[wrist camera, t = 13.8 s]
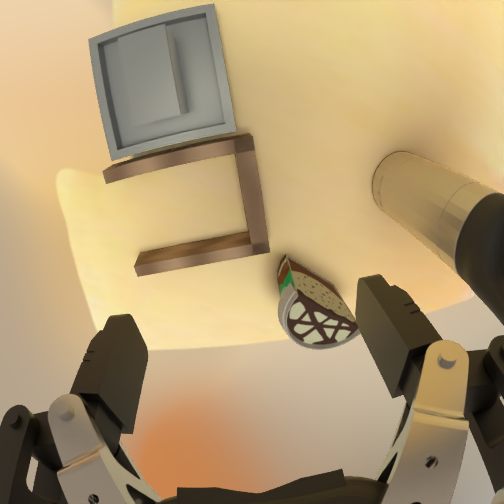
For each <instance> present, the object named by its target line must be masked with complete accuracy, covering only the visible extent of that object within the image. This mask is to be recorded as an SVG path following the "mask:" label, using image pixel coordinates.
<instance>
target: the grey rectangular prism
mask: <svg viewBox="0 0 504 504" xmlns="http://www.w3.org/2000/svg"><path fill="white" fill-rule="evenodd" d="M118 45H119V52H120V58H121V64H122V70H123V76H124V82H125V87H126V92H127V98H128V103H129V108H130V112H131V117H132V122H133V126H134V127H136V126H139V125H143V124H146V123H150V122H154V121H158V120H161V119H165V118H169V117H173V116H177V115H182V114H186V113H189V111H188V106H187V101H186V96H185V90H184V85H183V79H182V74H181V68H180V63H179V57H178V51H177V45H176V40H175V38H174V37H173V35H172V34H171V32H170V31H169V30H168V28H167V27H166V25H165V24H163V25H159V26H155V27H152V28H148V29H145V30H142V31H138V32H135V33H132V34H129V35H126V36H123V37H120V38H118Z"/></svg>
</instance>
